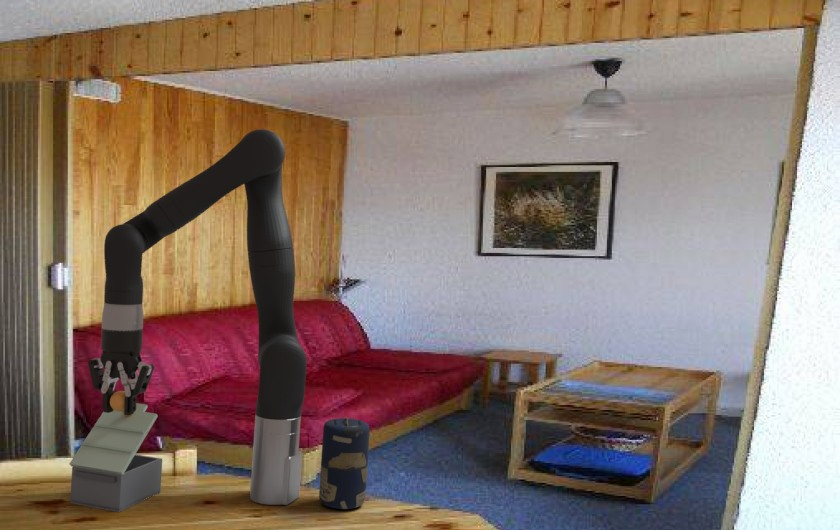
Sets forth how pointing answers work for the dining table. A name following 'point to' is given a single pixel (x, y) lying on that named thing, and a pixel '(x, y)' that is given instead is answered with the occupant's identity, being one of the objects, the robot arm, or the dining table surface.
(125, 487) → the parts tub
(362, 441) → the canister
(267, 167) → the robot arm
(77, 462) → the lid
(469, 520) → the dining table surface
